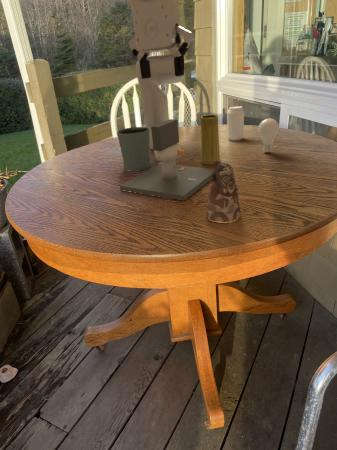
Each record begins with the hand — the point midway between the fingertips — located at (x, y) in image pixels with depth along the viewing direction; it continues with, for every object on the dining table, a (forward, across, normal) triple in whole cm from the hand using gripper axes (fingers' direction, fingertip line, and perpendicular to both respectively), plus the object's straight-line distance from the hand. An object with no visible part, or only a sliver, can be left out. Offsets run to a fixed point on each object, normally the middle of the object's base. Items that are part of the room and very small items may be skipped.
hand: (162, 77), depth 78 cm
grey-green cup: (+27, -18, +8) cm, 34 cm away
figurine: (+28, +22, -14) cm, 38 cm away
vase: (+27, +3, +20) cm, 33 cm away
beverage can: (+27, 0, +48) cm, 55 cm away
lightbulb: (+27, +17, +34) cm, 46 cm away
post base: (+27, 0, -1) cm, 27 cm away
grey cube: (+20, +1, -1) cm, 20 cm away
